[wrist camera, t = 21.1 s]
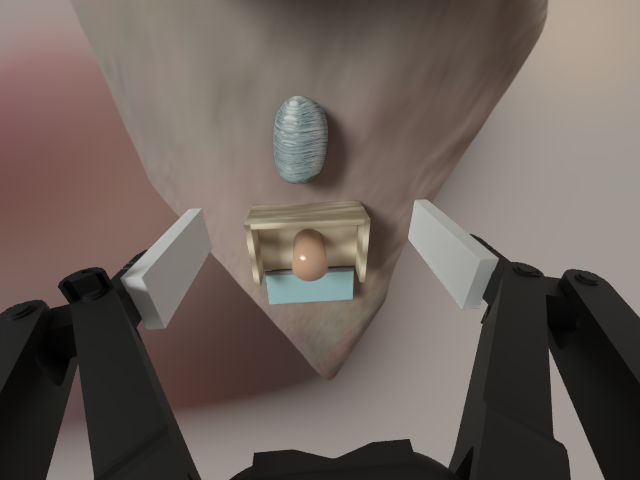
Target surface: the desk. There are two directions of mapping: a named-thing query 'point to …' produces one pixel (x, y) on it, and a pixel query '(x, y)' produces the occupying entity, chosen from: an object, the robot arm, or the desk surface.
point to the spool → (300, 139)
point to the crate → (288, 219)
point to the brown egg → (309, 255)
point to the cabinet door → (310, 286)
